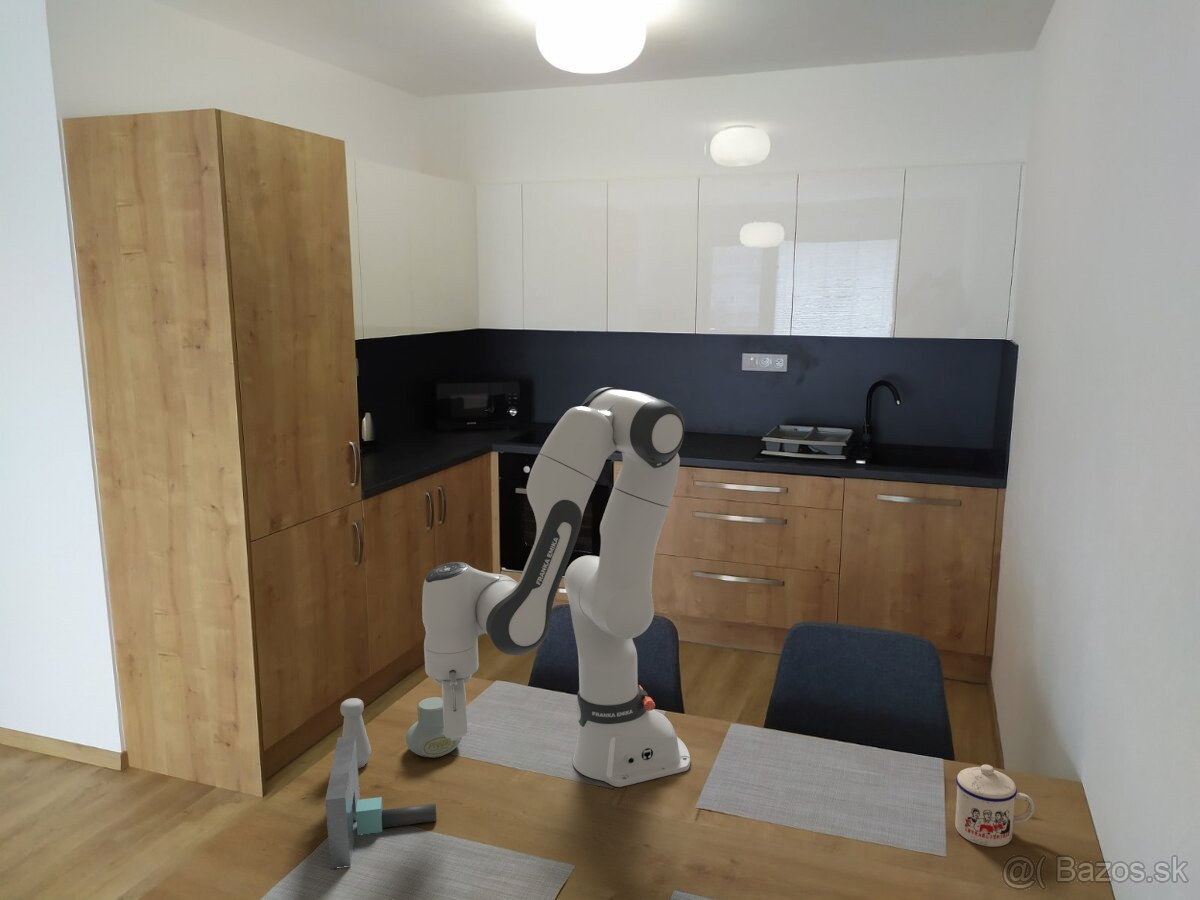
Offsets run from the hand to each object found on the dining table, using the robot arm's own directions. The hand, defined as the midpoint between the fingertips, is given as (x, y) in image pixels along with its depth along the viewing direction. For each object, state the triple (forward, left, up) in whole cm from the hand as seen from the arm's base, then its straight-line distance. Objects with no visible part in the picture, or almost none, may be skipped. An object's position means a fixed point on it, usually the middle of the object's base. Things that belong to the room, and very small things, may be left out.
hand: (455, 736), depth 149 cm
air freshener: (+4, -24, -15) cm, 29 cm away
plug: (+10, 0, -15) cm, 18 cm away
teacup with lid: (-86, +24, -15) cm, 91 cm away
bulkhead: (+19, 0, -15) cm, 24 cm away
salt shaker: (+19, -22, -15) cm, 33 cm away
